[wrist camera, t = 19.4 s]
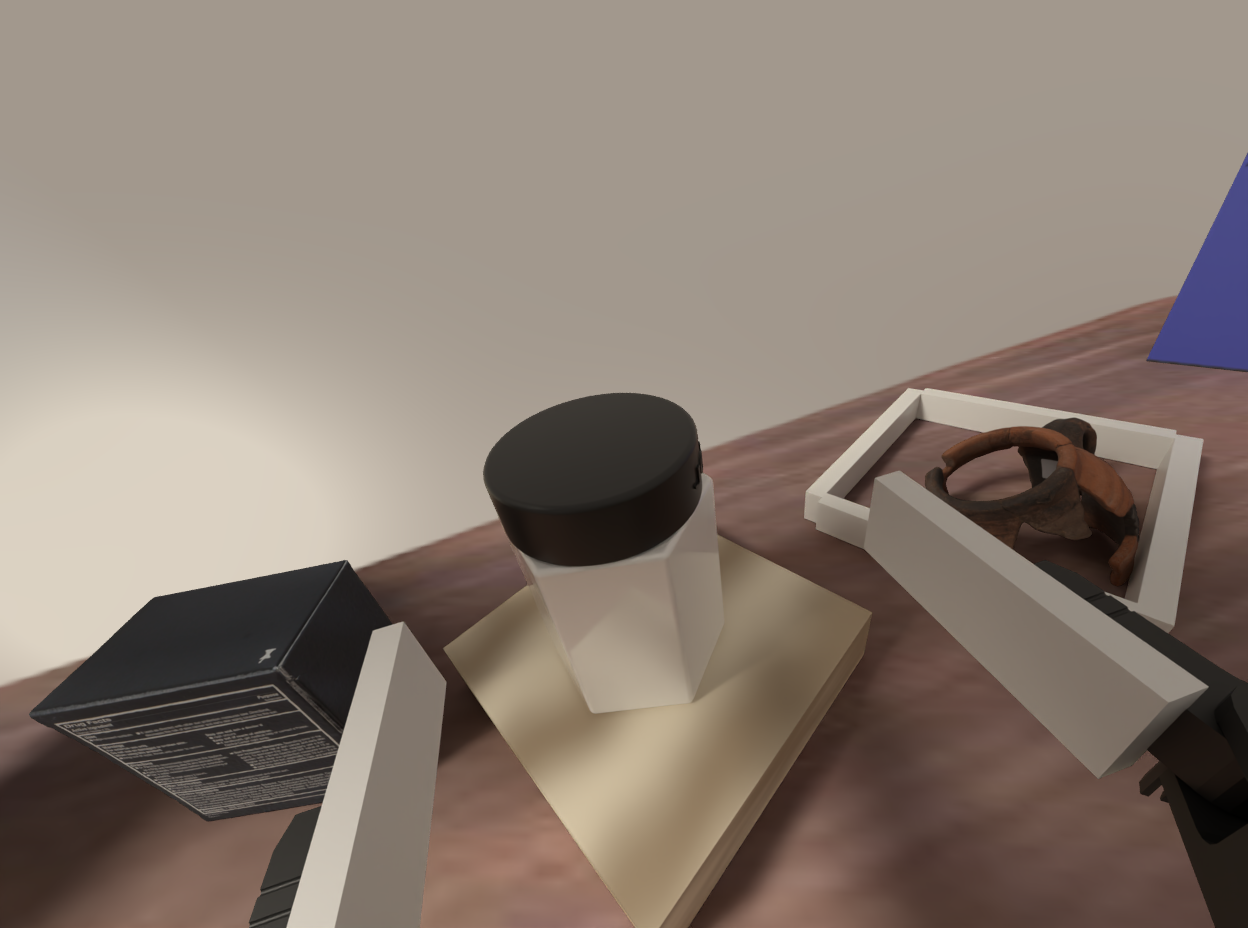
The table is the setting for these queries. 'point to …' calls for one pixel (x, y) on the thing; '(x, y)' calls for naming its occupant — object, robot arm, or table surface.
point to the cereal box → (1214, 295)
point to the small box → (227, 690)
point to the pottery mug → (1050, 489)
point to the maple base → (671, 732)
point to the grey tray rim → (1116, 440)
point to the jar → (615, 543)
